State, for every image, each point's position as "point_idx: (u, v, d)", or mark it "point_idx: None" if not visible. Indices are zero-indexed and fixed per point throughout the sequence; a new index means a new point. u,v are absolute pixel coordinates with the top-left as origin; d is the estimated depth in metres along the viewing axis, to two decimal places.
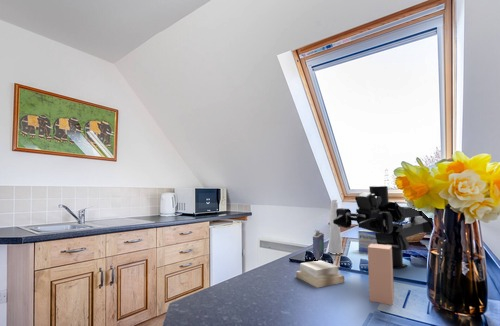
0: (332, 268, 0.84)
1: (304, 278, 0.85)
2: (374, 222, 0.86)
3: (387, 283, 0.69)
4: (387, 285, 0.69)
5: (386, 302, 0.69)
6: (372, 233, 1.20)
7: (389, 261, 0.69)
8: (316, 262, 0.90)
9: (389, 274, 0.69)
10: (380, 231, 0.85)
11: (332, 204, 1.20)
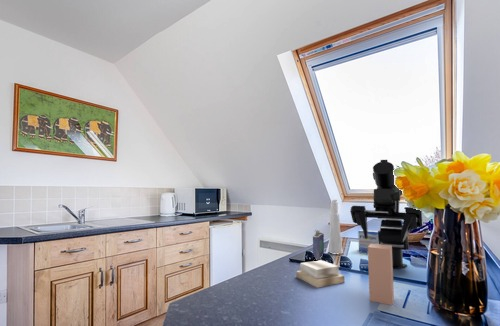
0: (332, 268, 0.84)
1: (304, 278, 0.85)
2: None
3: (387, 283, 0.69)
4: (387, 285, 0.69)
5: (386, 302, 0.69)
6: (372, 233, 1.20)
7: (389, 261, 0.69)
8: (316, 262, 0.90)
9: (389, 274, 0.69)
10: (413, 228, 0.81)
11: (332, 204, 1.20)
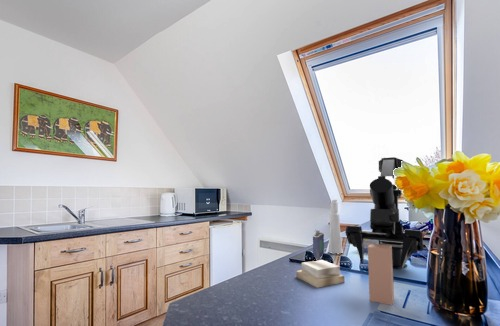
0: (333, 268, 0.84)
1: (304, 278, 0.85)
2: None
3: (387, 283, 0.69)
4: (387, 285, 0.69)
5: (386, 302, 0.69)
6: None
7: (389, 261, 0.69)
8: (317, 262, 0.90)
9: (389, 274, 0.69)
10: (413, 252, 0.75)
11: (332, 204, 1.20)
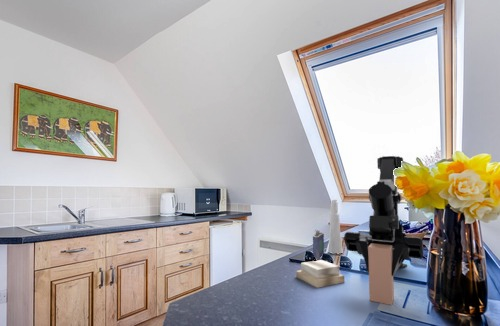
0: (333, 268, 0.84)
1: (304, 278, 0.85)
2: None
3: (387, 283, 0.69)
4: (387, 285, 0.69)
5: (386, 302, 0.69)
6: None
7: (389, 261, 0.69)
8: (317, 262, 0.90)
9: (389, 274, 0.69)
10: (405, 258, 0.74)
11: (332, 204, 1.20)
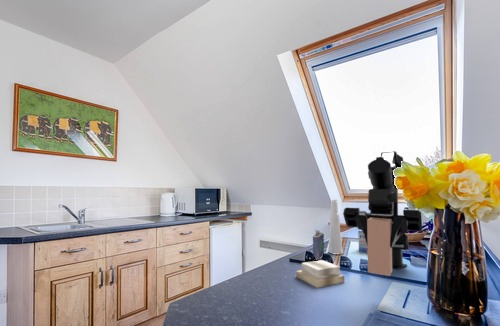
0: (333, 268, 0.84)
1: (304, 278, 0.85)
2: None
3: (385, 255, 0.70)
4: (385, 257, 0.70)
5: (384, 273, 0.70)
6: None
7: (388, 233, 0.70)
8: (317, 262, 0.90)
9: (388, 246, 0.69)
10: (404, 232, 0.74)
11: (332, 204, 1.20)
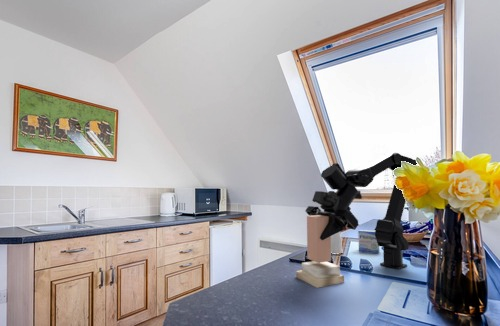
0: (333, 268, 0.84)
1: (304, 278, 0.85)
2: (334, 224, 0.86)
3: (315, 245, 0.85)
4: (315, 247, 0.85)
5: (315, 260, 0.85)
6: (372, 233, 1.20)
7: (316, 227, 0.85)
8: None
9: (316, 238, 0.85)
10: (343, 229, 0.85)
11: None
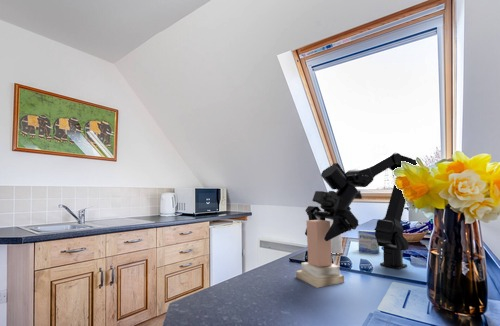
0: (333, 268, 0.84)
1: (304, 278, 0.85)
2: (338, 224, 0.84)
3: (315, 249, 0.85)
4: (315, 251, 0.85)
5: (315, 264, 0.85)
6: (372, 233, 1.20)
7: (316, 231, 0.85)
8: None
9: (316, 242, 0.85)
10: (347, 229, 0.83)
11: None
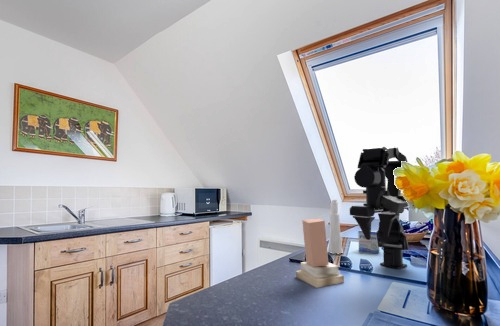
0: (332, 268, 0.84)
1: (304, 278, 0.85)
2: None
3: (310, 250, 0.85)
4: (310, 251, 0.85)
5: (311, 264, 0.86)
6: (372, 233, 1.20)
7: (309, 232, 0.85)
8: None
9: (310, 243, 0.85)
10: None
11: (332, 204, 1.20)
